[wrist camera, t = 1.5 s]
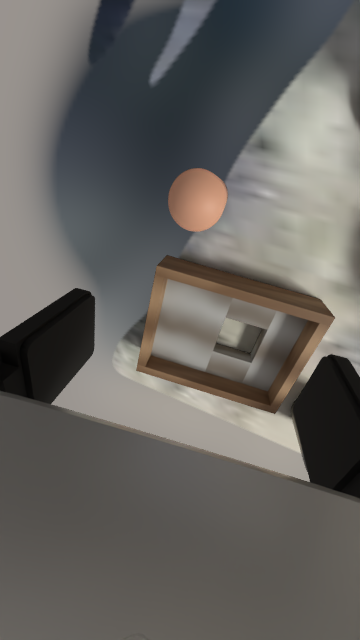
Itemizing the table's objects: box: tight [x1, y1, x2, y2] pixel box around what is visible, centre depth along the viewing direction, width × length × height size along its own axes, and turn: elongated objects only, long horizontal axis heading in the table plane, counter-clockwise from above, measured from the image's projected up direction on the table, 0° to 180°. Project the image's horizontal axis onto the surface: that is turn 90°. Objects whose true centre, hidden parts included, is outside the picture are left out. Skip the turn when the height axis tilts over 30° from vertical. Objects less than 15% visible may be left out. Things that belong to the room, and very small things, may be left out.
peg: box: [168, 168, 228, 231], centre depth 21 cm, size 4×4×11 cm
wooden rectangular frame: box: [136, 255, 335, 414], centre depth 30 cm, size 14×18×4 cm
